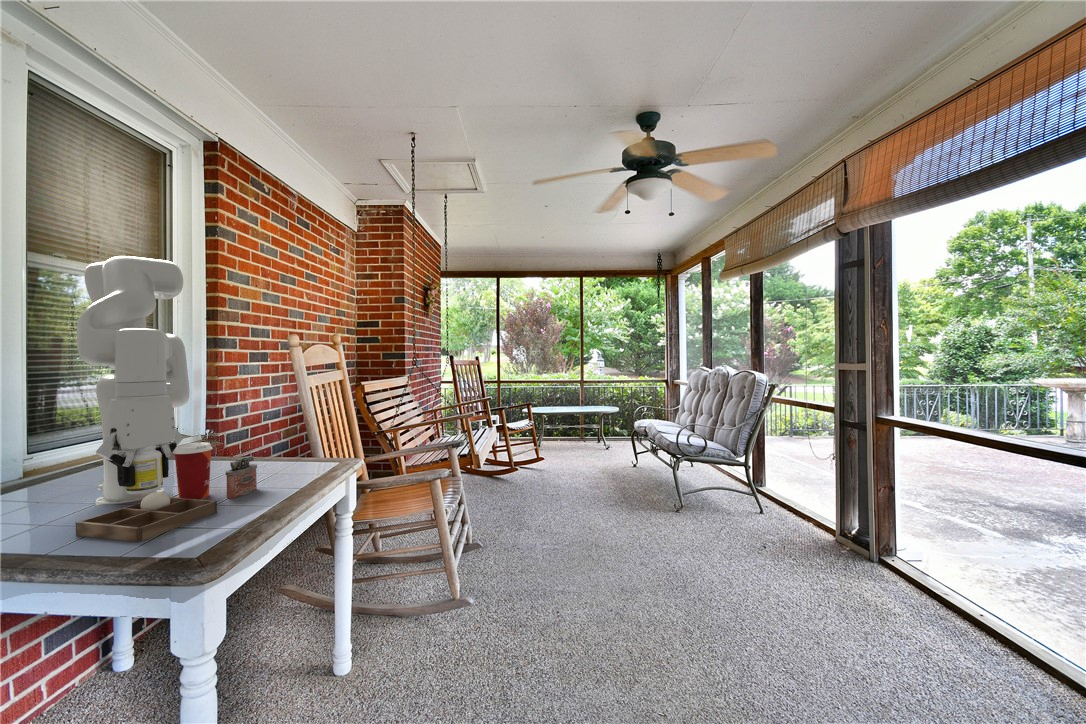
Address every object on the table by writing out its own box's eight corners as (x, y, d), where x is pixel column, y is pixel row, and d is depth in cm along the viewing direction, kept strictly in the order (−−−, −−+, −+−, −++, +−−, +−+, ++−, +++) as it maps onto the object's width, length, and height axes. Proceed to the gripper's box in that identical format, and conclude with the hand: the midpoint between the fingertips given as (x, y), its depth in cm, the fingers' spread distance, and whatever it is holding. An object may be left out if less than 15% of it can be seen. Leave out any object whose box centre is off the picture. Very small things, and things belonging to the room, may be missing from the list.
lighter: (233, 503, 108) (233, 462, 107) (222, 502, 108) (221, 461, 108) (261, 492, 116) (260, 454, 115) (250, 491, 116) (249, 454, 116)
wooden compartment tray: (76, 539, 87) (75, 522, 87) (160, 511, 102) (160, 496, 102) (139, 547, 83) (138, 529, 83) (217, 516, 99) (216, 501, 99)
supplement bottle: (141, 487, 90) (140, 439, 90) (169, 486, 91) (168, 438, 91) (118, 495, 85) (117, 444, 85) (148, 494, 86) (147, 444, 85)
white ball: (134, 518, 95) (133, 495, 95) (159, 509, 100) (158, 488, 100) (152, 519, 94) (152, 496, 94) (176, 511, 99) (176, 489, 99)
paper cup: (220, 498, 111) (219, 443, 110) (185, 508, 104) (183, 449, 104) (202, 494, 114) (201, 440, 114) (166, 504, 107) (165, 446, 107)
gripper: (171, 387, 97) (173, 469, 97) (73, 394, 80) (76, 494, 80) (199, 387, 95) (201, 471, 96) (105, 395, 78) (108, 496, 79)
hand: (144, 480), depth 88 cm, fingers closed on supplement bottle, 5 cm apart
